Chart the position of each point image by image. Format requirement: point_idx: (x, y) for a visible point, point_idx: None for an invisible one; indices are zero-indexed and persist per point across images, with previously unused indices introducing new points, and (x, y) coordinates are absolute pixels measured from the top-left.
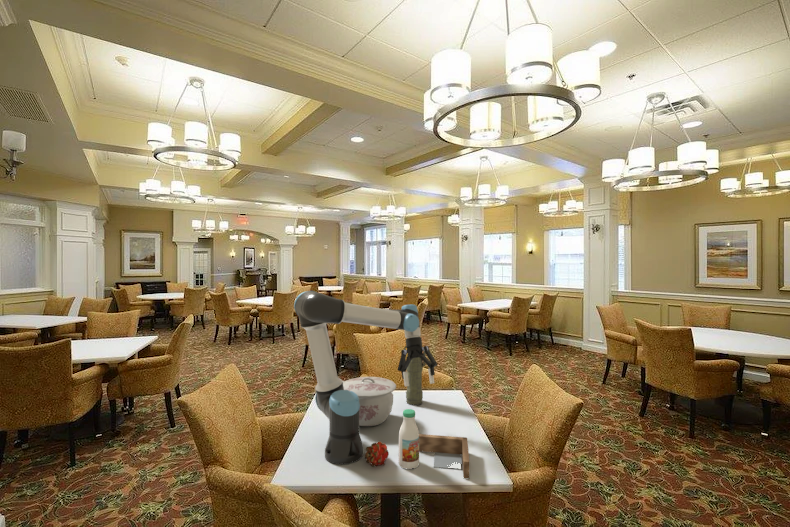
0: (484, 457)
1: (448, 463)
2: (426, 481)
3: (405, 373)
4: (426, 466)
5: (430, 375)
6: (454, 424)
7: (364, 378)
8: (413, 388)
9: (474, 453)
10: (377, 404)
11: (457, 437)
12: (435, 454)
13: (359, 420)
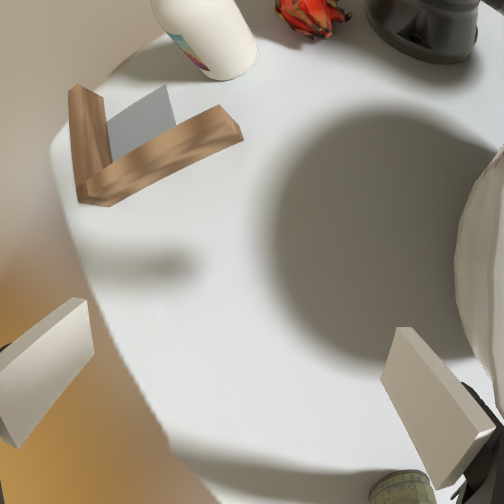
0: (77, 209)
1: (135, 120)
2: (167, 38)
3: (452, 436)
4: (183, 78)
5: (26, 334)
6: (195, 383)
7: None
8: None
9: (96, 214)
10: (499, 163)
11: (98, 185)
12: None
13: None
